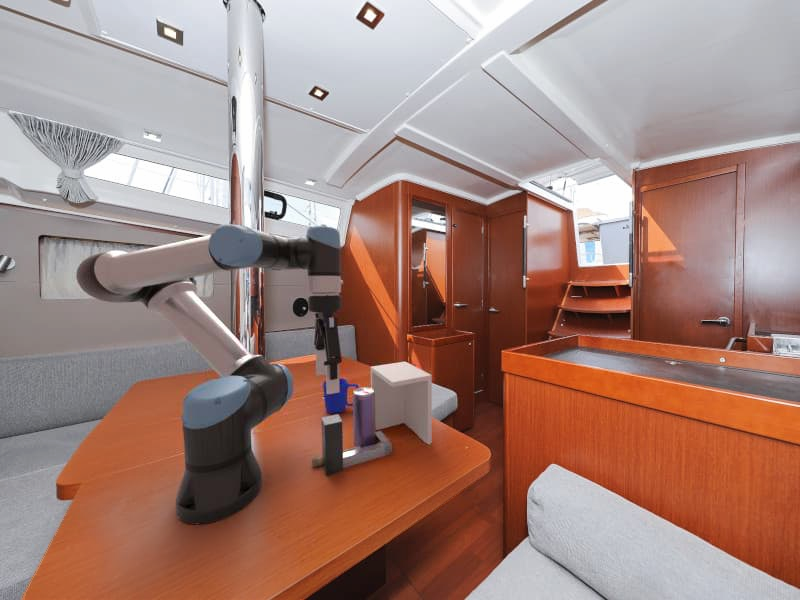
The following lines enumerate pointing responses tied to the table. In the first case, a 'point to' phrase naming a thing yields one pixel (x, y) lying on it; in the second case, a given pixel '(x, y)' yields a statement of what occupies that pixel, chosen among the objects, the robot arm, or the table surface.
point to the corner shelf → (403, 398)
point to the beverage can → (364, 417)
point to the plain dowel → (319, 460)
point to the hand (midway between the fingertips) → (326, 383)
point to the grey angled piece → (338, 460)
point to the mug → (337, 397)
